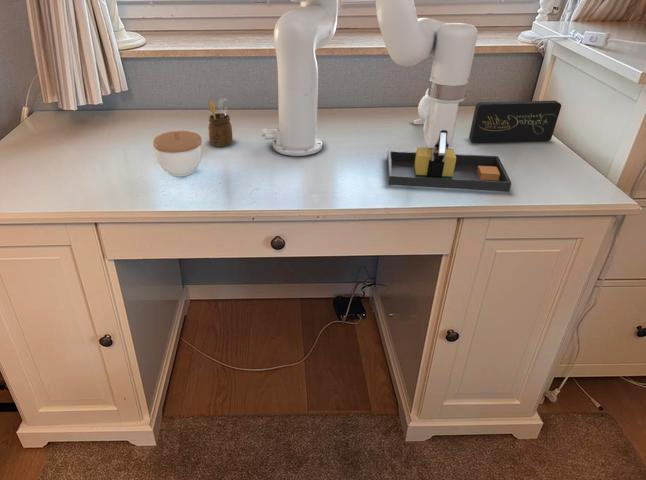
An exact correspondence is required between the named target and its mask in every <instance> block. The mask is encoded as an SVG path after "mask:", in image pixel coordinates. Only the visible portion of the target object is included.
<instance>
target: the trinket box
mask: <svg viewBox="0 0 646 480" xmlns="http://www.w3.org/2000/svg"><path fill="white" fill-rule="evenodd" d="M152 145H153V147H154V153H155V157H156V161H157V162H158V164H159V165H160V167H161V168H162V169H163V170H164V171H165V172H167V173H168V175H170V176H171V177H179V178H180V177H181V178H182V177H187V176H191V175H192V174H194V173H195V171H196V169H197V168H198V167H199V165H200V163H201V161H202V155H203V147H202V145H203V144H202V137H201V135H200V134H199V133H197V132H195V131H189V130H173V131H168V132H163V133H161V134H158V135H157V136H155V137H154V138H153V140H152Z"/></svg>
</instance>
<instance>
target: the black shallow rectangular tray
mask: <svg viewBox="0 0 646 480" xmlns="http://www.w3.org/2000/svg"><path fill="white" fill-rule="evenodd" d="M455 155H456V163H455V168H454V173H453V177H452V179H451V178H433V177H415V171H414V164H415V158H416V151H402V150H401V151H400V150H399V151H398V150H387V158H386V161H387V163H386V164H387V182H388V183H387V184H388V186H403V187H419V188H438V189H452V190H453V189H454V190H469V191H470V190H471V191H486V192H487V191H489V192H504V193H505V192H506V193H507V192H508V193H509V192H510V190H511V186H512V181H511V179H510V177H509V175H508V173H507V170H506V169H505V167H504V165H503V163H502V160H501V159H500V156H498V155H483V154H482V155H481V154H480V155H479V154H462V153H461V154H460V153H455ZM478 166H493V167H497V168H498V171H499V173H500V177H499V180H498V181H496V180H480V179H479V176H478V173H477V170H478Z"/></svg>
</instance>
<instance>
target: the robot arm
mask: <svg viewBox="0 0 646 480" xmlns="http://www.w3.org/2000/svg"><path fill="white" fill-rule="evenodd" d="M289 1H291V2H292V3H300V4H299V7H297V8H293V9H291V10H288V11H286V12H285V13H283V14H282V15H281V16H280V17H279V18H278V20H277V21H276V23H275V25H274V29H273V45H274V46H273V47H274V50H275V51H274V52H275V57H276V65H277V97H278V98H277V99H278V100H277V101H278V102H277V104H278V105H277V106H278V126H277V127H275V128H274V129H271V128H262V129H261V137H264V140H273V141H272V148H273V150H274V151H275V152H277V153H279V154H281V155H285V156H289V157H305V156H311V155H314V154H317V153H318V152H320V151H322V149H323V141H322V140H321V138H319V137H317V135H318V134H317V129H318V103H319V102H318V97H319V67H318V62H317V57H316V51H317V50H318V49H321V48H323V47H325V46H327V44H329V43H330V42H331V41H332V39H333V38H334V35H335V34H336V29H337V23H338V9H339V0H289ZM415 5H416V4H415V1H414V0H375V12H376V19H377V23H378V26H379V30H380V33H381V36H382V39H383V42H384V46H385V48H386V52H387V53H388V55H389V57H390V58H391V60H393V62H394V63H395V64H396V65H398V66H401V67H413V66H415V65H417V64H419V63H420V62H422V61H423V60H426V59H428V58H432V63H431V64H432V65H431V71H430V77H429V82H428V83H429V84H428V88H429V90H428V98H429V99H431V100H430V105H429V110H428V115H427V120H426V125H425V130H424V131H423V137H424V142H425V146H426V148H428V149H430V148H432V155H431V160H429V165H428V171H427V177H433V178H442V173H443V168H444V163H445V154H446V149H447V150H448V149H451V147H452V144H453V139H454V134H455V129H456V124H457V119H458V118H457V117H458V113H459V112H458V111H459V104H460V103H462V102H464V101H465V100H466V96H467V89H468V85H469V81H470V75H471V70H472V65H473V60H474V54H475V50H476V46H477V41H478V35H479V34H478V28H476V26H475V25H473V24H469V23H463V22H445V21H440V20H437V19H434V18H428V17H420V18H418V13H417V10H416V6H415ZM435 150H438V153H436V154H435Z"/></svg>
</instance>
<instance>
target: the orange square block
mask: <svg viewBox="0 0 646 480" xmlns="http://www.w3.org/2000/svg"><path fill="white" fill-rule="evenodd" d="M477 173H478V176H479V179H480V180H496V181H498V180H499V177H500V173H499V171H498V168H497V167H493V166H478V170H477Z"/></svg>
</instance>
